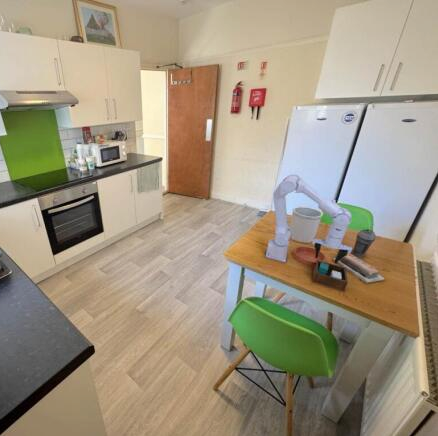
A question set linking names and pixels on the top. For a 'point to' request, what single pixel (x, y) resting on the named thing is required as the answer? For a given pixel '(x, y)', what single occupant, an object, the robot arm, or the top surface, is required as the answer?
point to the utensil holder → (304, 223)
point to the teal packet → (323, 268)
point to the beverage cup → (363, 242)
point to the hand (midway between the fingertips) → (325, 259)
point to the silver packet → (336, 274)
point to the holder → (329, 280)
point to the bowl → (308, 255)
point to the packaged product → (359, 268)
